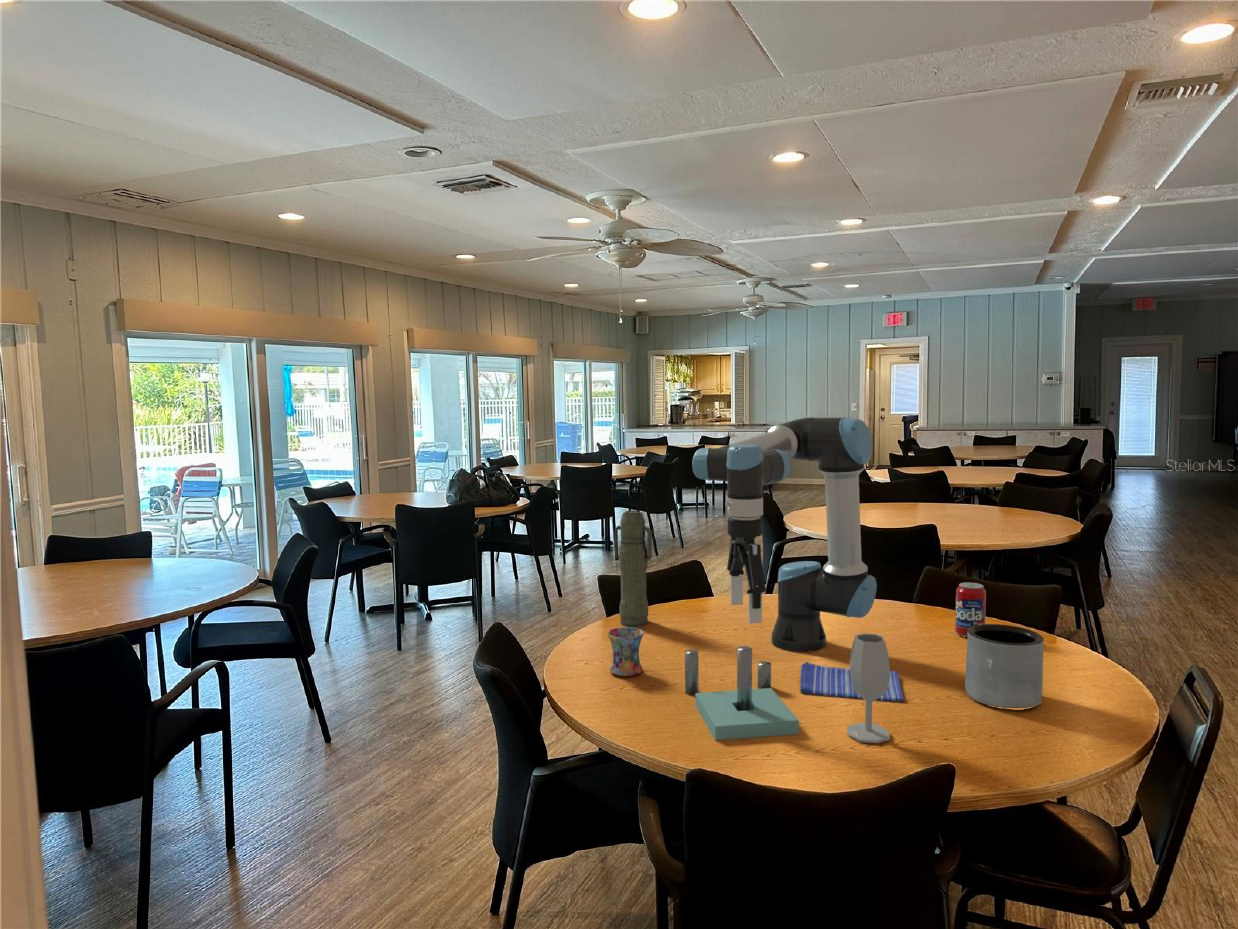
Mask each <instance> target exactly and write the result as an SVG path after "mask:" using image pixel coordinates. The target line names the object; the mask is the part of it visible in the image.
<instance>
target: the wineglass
mask: <svg viewBox="0 0 1238 929" xmlns="http://www.w3.org/2000/svg"><path fill="white" fill-rule="evenodd" d="M849 656H850V657H849V669H850V677H851V682H852V686H853V690H854V691H855V692H856V693H857V694H858V695H859V696H861V697H862V698H863V699H862V700H864V701H865V712H864V713H865V715H864V716H865V719H864V721H865V722H858V723H853V724H849V725H847V734H848V736H849V737H850V738H852V739H853V740H855V741H857V742H859V743H866V744H881V743H885V742H888V741H889V742H890V740H891V737H890V731H889V729H887V728H885V727H883V726H882V725H879V724H877V723H873V702H875V701H876V699H878V698H879V697H881V696H882V695H884V694H886V691H887V688H888V685H889V681H890V671H891V665H890V657H889V651H888V647H887V644H886V640H885V637H884V636H882V635H879V634H877V633H867V632H866V633H865V632H864V633H859V634H855V636H854V639H853V641H852V645H851V651H850V655H849Z"/></svg>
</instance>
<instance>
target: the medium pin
mask: <svg viewBox="0 0 1238 929" xmlns="http://www.w3.org/2000/svg"><path fill="white" fill-rule="evenodd" d="M699 688H700V687H699V650H697V649H686V650H685V651H684V694H686V695H690V696H693V695H694V696H695V693H700V691H699Z"/></svg>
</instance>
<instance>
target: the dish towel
mask: <svg viewBox="0 0 1238 929" xmlns="http://www.w3.org/2000/svg"><path fill="white" fill-rule="evenodd" d="M898 673H899V672H898V671H897V670H892V671H891V670H890V681H889V685H888V688H887V691H886V694H884V695H882V696H881V697H879V698H878V699H876V700H875V701H878V702H893V703H895V702H899V703H900V702H905V698H904V696H903V692H902V686H901V682H900V678H899V674H898ZM799 687H800V689H799V691H800V693H801V694H806V695H807V694H808V695H809V694H810V695H813V696H815V695H816V696H821V695H822V696H823V697H831V696H832V697H834V698H845V699H855V698H856V700H864V699H863V698H862V697H861V696H859V695H858V694H857V693H856V692H855V691H854V690H853V686H852V682H851V677H850V668H845V667H834V666H833V667H831V666H827V665H825V666H822V665H818V664H816V663H810V662H807V661H805V662H804V663H802V664H801V668H800V686H799Z"/></svg>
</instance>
